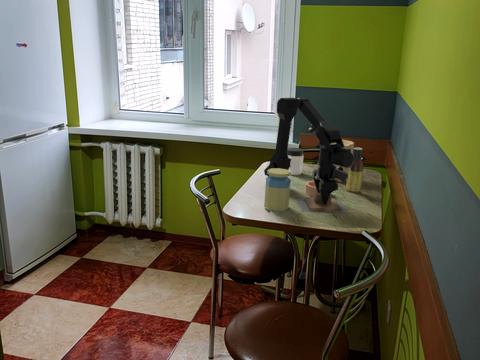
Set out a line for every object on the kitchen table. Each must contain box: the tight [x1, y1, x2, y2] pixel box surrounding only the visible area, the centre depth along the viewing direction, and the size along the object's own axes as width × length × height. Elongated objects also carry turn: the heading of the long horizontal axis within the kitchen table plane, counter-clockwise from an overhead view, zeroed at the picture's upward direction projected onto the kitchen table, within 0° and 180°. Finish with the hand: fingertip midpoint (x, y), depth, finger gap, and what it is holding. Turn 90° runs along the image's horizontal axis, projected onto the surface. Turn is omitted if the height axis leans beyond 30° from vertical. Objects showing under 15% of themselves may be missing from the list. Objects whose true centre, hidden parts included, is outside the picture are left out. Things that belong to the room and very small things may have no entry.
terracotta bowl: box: [304, 180, 317, 198], centre depth 186 cm, size 10×10×5 cm
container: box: [330, 139, 355, 183], centre depth 211 cm, size 13×13×18 cm
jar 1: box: [263, 168, 292, 212], centre depth 166 cm, size 9×9×15 cm
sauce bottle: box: [345, 147, 364, 194], centre depth 190 cm, size 6×6×20 cm
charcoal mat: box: [296, 198, 350, 214], centre depth 172 cm, size 18×14×1 cm
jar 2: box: [287, 147, 304, 176], centre depth 218 cm, size 9×8×12 cm
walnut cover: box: [303, 193, 341, 212], centre depth 171 cm, size 12×12×5 cm
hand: (322, 200), depth 171 cm, fingers open, 8 cm apart
